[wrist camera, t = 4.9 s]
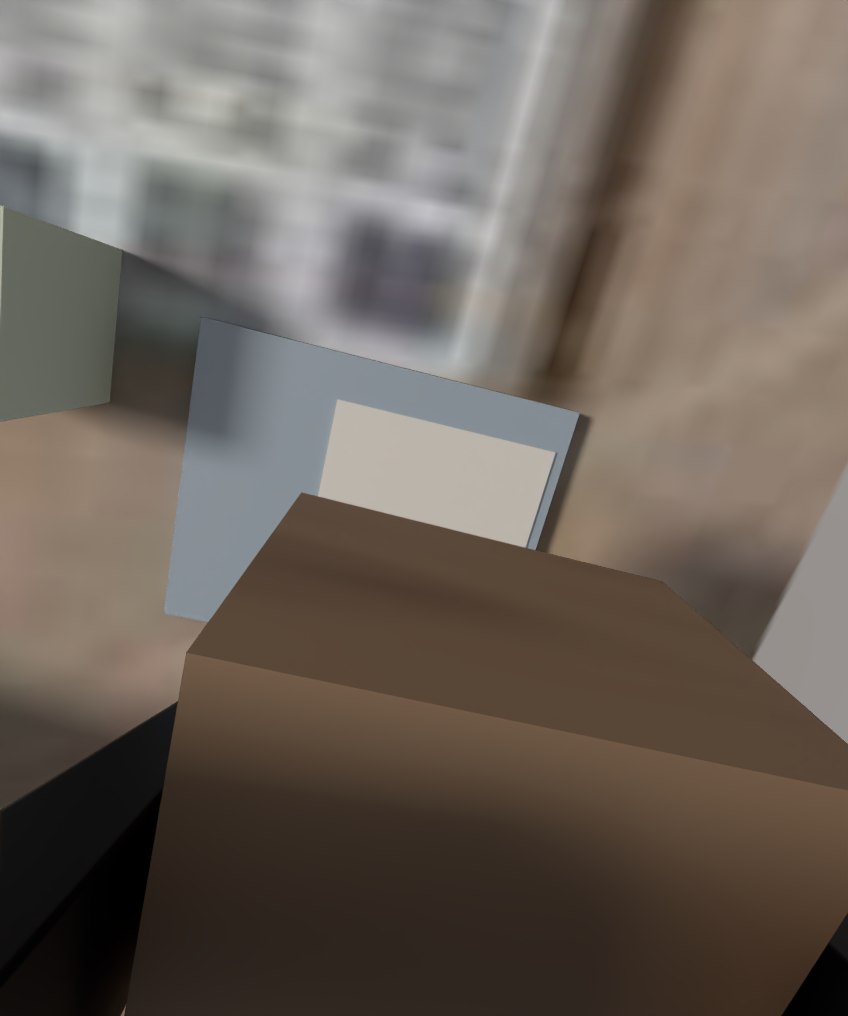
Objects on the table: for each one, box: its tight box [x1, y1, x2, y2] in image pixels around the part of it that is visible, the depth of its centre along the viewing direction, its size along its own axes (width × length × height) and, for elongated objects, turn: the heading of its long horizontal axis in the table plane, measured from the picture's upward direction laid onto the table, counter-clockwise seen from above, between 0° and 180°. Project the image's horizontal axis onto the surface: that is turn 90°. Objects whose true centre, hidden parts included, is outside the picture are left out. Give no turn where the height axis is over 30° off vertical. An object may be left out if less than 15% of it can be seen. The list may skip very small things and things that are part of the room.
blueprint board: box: [164, 317, 580, 622], centre depth 18 cm, size 10×12×1 cm
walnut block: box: [124, 492, 848, 1016], centre depth 7 cm, size 6×6×4 cm
